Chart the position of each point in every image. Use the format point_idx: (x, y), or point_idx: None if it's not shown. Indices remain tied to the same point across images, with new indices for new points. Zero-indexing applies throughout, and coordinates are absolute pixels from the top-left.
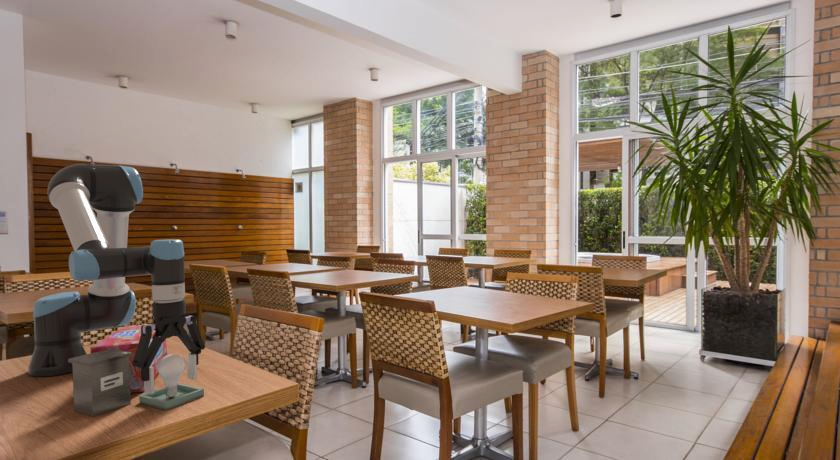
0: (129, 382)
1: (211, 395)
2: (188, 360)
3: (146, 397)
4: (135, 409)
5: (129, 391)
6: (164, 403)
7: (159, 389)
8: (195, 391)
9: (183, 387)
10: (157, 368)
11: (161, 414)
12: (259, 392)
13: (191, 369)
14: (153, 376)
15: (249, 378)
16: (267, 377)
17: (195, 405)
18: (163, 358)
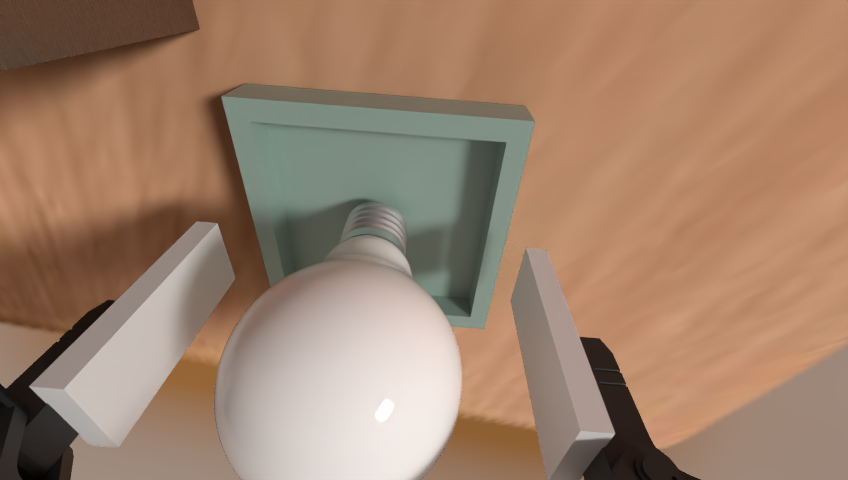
0: (65, 56)
1: (496, 321)
2: (555, 375)
3: (244, 170)
4: (193, 154)
5: (131, 41)
6: None
7: (377, 115)
8: None
9: (491, 204)
10: (229, 337)
11: None
12: None
13: (527, 334)
14: (169, 368)
15: (759, 323)
16: (765, 371)
17: None
18: (233, 464)
